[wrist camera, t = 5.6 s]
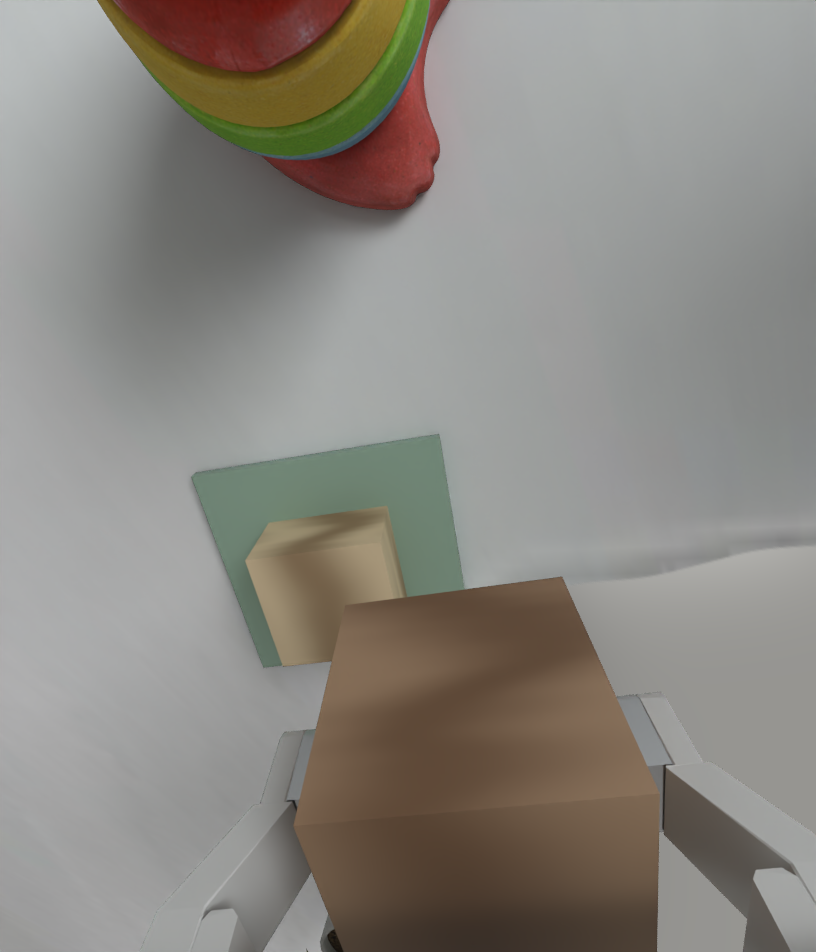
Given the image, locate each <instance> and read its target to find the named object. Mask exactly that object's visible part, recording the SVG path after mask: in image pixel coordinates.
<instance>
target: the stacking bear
mask: <svg viewBox="0 0 816 952" xmlns="http://www.w3.org/2000/svg"><path fill="white" fill-rule="evenodd" d="M97 1H98V3H99V4H100V6H101V7H102V9H103V10H104V12H105V14H106V15H107V17H108V18H109V20H110V21H111V22H112V24H113V25H114V27H115V28H116V29H117V31H118V32H119V34H120V35H121V36H122V38H123V39H124V40H125V42H126V43H127V44H128V45H129V47H130V48H131V49H132V50H133V52H134V53H135V54H136V56H137V57H138V59H139V60H140V61H141V62H142V64H143V65H144V66H145V68H146V69H147V70H148V72H149V73H150V74H151V75H152V77H153V78H154V79H155V80H156V81H157V82H158V83H159V85H160V86H161V87H162V88H163V89H164V90H165V91H166V92H167V93H168V94H169V95H170V96H171V97H172V98H173V99H174V100H175V101H176V102H177V103H178V104H179V105H180V106H181V107H182V108H183V109H184V110H185V111H186V112H187V113H188V114H190V115H191V116H192V117H193V118H194V119H196V120H197V121H198V122H199V123H201V124H202V125H203V126H205V127H206V128H207V129H209V130H210V131H212V132H213V133H215V134H217V135H218V136H220V137H222V138H223V139H225V140H227V141H229V142H231V143H233V144H234V145H236V146H238V147H240V148H243V149H245V150H247V151H250V152H253V153H256V154H259V155H261V156H262V157H264V158H265V159H266V160H267V161H268V162H269V163H270V164H272V165H273V166H274V167H276V168H277V169H278V170H280V171H281V172H282V173H284V174H285V175H286V176H288V177H289V178H291V179H292V180H294V181H296V182H297V183H299V184H300V185H302V186H304V187H306V188H308V189H310V190H312V191H314V192H316V193H318V194H320V195H323V196H325V197H327V198H330V199H333V200H336V201H339V202H342V203H346V204H349V205H353V206H358V207H364V208H372V209H382V210H396V209H403V208H406V207H409V206H411V205H412V204H413V203H414V202H415V199H416V196H417V195H418V194H419V193H422V192H425V191H427V190H428V189H429V188H430V187H431V185H432V183H433V181H434V171H433V166H434V165H435V163H436V162H437V160H438V158H439V154H440V145H439V140H438V137H437V134H436V131H435V129H434V126H433V124H432V122H431V118H430V115H429V112H428V109H427V104H426V98H425V91H424V65H425V57H426V52H427V47H428V43H429V39H430V36H431V34H432V31H433V28H434V26H435V24H436V22H437V20H438V19H439V17H440V15H441V13H442V11H443V10H444V8H445V7H446V5H447V4H448V2H449V1H450V0H97Z"/></svg>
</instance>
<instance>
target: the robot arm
mask: <svg viewBox="0 0 816 952" xmlns="http://www.w3.org/2000/svg"><path fill="white" fill-rule="evenodd" d="M616 698H617V700H618V702H619V704H620V707H621V709H622V711H623V713H624V715H625V718H626V720H627V722H628V724H629V727H630V729H631V731H632V733H633V735H634V738H635V740H636V742H637V744H638V746H639V749H640V751H641V753H642V755H643V758H644V760H645V762H646V764H647V766H648V769H649V771H650V773H651V775H652V777H653V780H654V782H655V784H656V786H657V789H658V791H659V793H660V806H659V832H664V835H665V836H666V837H667V838H668V839H669V840H670V841H671V842H672V843H673V844H674V845H675V846H676V847H677V848H678V849H679V850H680V851H681V852H682V853H683V854H684V855H685V856H686V857H687V858H688V859H689V860H690V861H691V862H692V863H693V864H694V865H695V866H696V867H697V868H698V869H699V870H700V871H701V873H703V875H705V876H706V878H707V879H709V880H710V881H711V883H712V884H713V885H714V886H715V887H716V888H717V889H718V890H719V891H720V892H721V893H722V894H723V895H724V896H725V897H726V898H727V899H728V900H729V901H730V902H731V903H732V904H733V905H734V906H735V907H736V908H737V909H738V910H739V911H740V912H741V913H742V914H743V915H744V916H745V917H746V918H747V926H746V934H745V940H744V947H743V952H816V834H814V833H813V832H811V831H810V830H808V829H807V828H806V827H804V826H803V825H801V824H800V823H799V822H797V821H796V820H794V819H793V818H791V817H790V816H789V815H787V814H786V813H784V812H783V811H781V810H780V809H779V808H777V807H776V806H774V805H773V804H771V803H770V802H769V801H767V800H766V799H764V798H763V797H761V796H759V795H758V794H757V793H755V792H754V791H753V790H751V789H750V788H748V787H747V786H746V785H744V784H743V783H741V782H740V781H738V780H737V779H735V778H734V777H733V776H731V775H730V774H728V773H727V772H726V771H724V770H723V769H721V768H720V767H718V766H717V765H715V764H714V763H713V762H703V760H702V759H701V757H700V755H699V753H698V752H697V750H696V748H695V747H694V745H693V743H692V741H691V740H690V738H689V736H688V735H687V733H686V731H685V729H684V727H683V726H682V724H681V722H680V721H679V719H678V717H677V715H676V714H675V712H674V710H673V708H672V707H671V705H670V703H669V701H668V700H667V698H666V697H665V695H664V694H663V693H661V692H654V693H645V694H636V695H625V696H617V697H616ZM315 731H316V729H312V730H303V731H292V732H285V733H284V734H283V736H282V737H281V739H280V741H279V744H278V747H277V751H276V754H275V757H274V760H273V764H272V767H271V770H270V773H269V777H268V780H267V783H266V786H265V789H264V793H263V796H262V799H261V802H260V804H257V805H253V806H252V807H251V808H250V809H249V810H248V811H247V813H246V814H245V815H244V816H243V817H242V818H241V819H240V820H239V821H238V822H237V824H236V825H235V826H234V827H233V828H232V829H231V830H230V831H229V832H228V834H227V835H226V836H225V837H224V838H223V839H222V840H221V841H220V842H219V843H218V845H217V846H216V847H215V848H214V849H213V850H212V851H211V852H210V853H209V854H208V856H207V857H206V858H205V859H204V860H203V861H202V862H201V863H200V864H199V866H198V867H197V868H196V869H195V870H194V871H193V872H192V873H191V874H190V875H189V877H188V878H187V879H186V880H185V881H184V882H183V883H182V884H181V885H180V886H179V888H178V889H177V890H176V891H175V892H174V893H173V894H172V895H171V896H170V898H169V899H168V900H167V901H166V902H165V903H164V904H163V905H162V906H161V907H160V909H159V910H158V911H157V912H156V914H155V917H154V919H153V922H152V924H151V926H150V929H149V931H148V934H147V936H146V938H145V941H144V943H143V945H142V948H141V950H140V952H262V951H263V950H264V948H265V947H266V945H267V943H268V942H269V940H270V938H271V937H272V935H273V934H274V932H275V930H276V929H277V927H278V925H279V924H280V922H281V921H282V919H283V917H284V916H285V914H286V912H287V911H288V909H289V908H290V906H291V904H292V903H293V901H294V899H295V898H296V896H297V895H298V893H299V891H300V890H301V888H302V886H303V885H304V883H305V882H306V880H307V878H308V877H309V875H310V873H311V869H310V867H309V864H308V862H307V859H306V857H305V854H304V852H303V849H302V847H301V844H300V842H299V839H298V837H297V834H296V832H295V829H294V827H293V825H294V821H295V816H296V812H297V808H298V804H299V799H300V795H301V791H302V786H303V782H304V778H305V774H306V769H307V765H308V761H309V757H310V752H311V748H312V744H313V740H314V735H315Z"/></svg>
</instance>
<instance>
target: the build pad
mask: <svg viewBox="0 0 816 952" xmlns="http://www.w3.org/2000/svg"><path fill="white" fill-rule="evenodd" d="M192 480H193V482H194V485H195V488H196V490H197V493H198V496H199V498H200V501H201V504H202V506H203V509H204V512H205V514H206V517H207V520H208V522H209V525H210V527H211V530H212V533H213V535H214V538H215V541H216V543H217V546H218V549H219V551H220V554H221V557H222V559H223V562H224V564H225V567H226V570H227V572H228V575H229V578H230V580H231V583H232V586H233V588H234V591H235V594H236V596H237V599H238V601H239V604H240V607H241V609H242V612H243V615H244V617H245V620H246V623H247V625H248V628H249V631H250V633H251V636H252V639H253V641H254V644H255V646H256V649H257V652H258V654H259V657H260V660H261V662H262V665H263V668H264V667H273V666H282V662H281V660H280V657H279V654H278V651H277V648H276V646H275V643H274V640H273V637H272V635H271V632H270V629H269V626H268V623H267V621H266V618H265V615H264V612H263V609H262V607H261V604H260V601H259V598H258V595H257V593H256V590H255V587H254V584H253V581H252V579H251V576H250V573H249V570H248V568H247V565H246V562H245V560H246V558H247V557H248V555H249V554H250V552H251V550H252V549H253V547H254V546H255V544H256V542H257V541H258V539H259V538H260V536H261V534H262V533H263V531H264V530H265V528H266V526H267V525H268V523H270V522H277V521H284V520H291V519H298V518H305V517H312V516H319V515H326V514H333V513H340V512H347V511H354V510H361V509H367V508H374V507H381V506H387V507H388V511H389V516H390V520H391V525H392V530H393V534H394V539H395V543H396V548H397V552H398V557H399V562H400V566H401V571H402V575H403V580H404V584H405V589H406V594H407V597H411V596H419V595H427V594H434V593H442V592H450V591H457V590H465V589H464V583H463V577H462V571H461V565H460V559H459V553H458V547H457V541H456V534H455V528H454V522H453V516H452V510H451V504H450V498H449V492H448V486H447V480H446V474H445V467H444V461H443V455H442V449H441V443H440V437H439V434H437V435H430V436H424V437H418V438H411V439H405V440H399V441H392V442H386V443H380V444H373V445H367V446H361V447H354V448H348V449H342V450H336V451H329V452H323V453H317V454H310V455H304V456H298V457H291V458H285V459H279V460H272V461H266V462H260V463H253V464H247V465H241V466H235V467H228V468H222V469H216V470H209V471H203V472H197V473H195V474H194V475H193V476H192Z"/></svg>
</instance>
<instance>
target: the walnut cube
mask: <svg viewBox="0 0 816 952" xmlns="http://www.w3.org/2000/svg"><path fill="white" fill-rule="evenodd" d="M659 806H660V793H659V791H658V789H657V786H656V784H655V782H654V780H653V777H652V775H651V773H650V771H649V769H648V766H647V764H646V762H645V760H644V758H643V755H642V753H641V751H640V749H639V746H638V744H637V742H636V740H635V738H634V735H633V733H632V731H631V729H630V727H629V724H628V722H627V720H626V718H625V715H624V713H623V711H622V709H621V707H620V704H619V702H618V700H617V698H616V696H615V693H614V691H613V689H612V687H611V684H610V682H609V680H608V678H607V676H606V673H605V671H604V669H603V667H602V664H601V662H600V660H599V658H598V656H597V653H596V651H595V649H594V647H593V645H592V642H591V640H590V638H589V636H588V633H587V631H586V629H585V627H584V625H583V622H582V620H581V618H580V616H579V613H578V611H577V609H576V607H575V605H574V602H573V600H572V598H571V596H570V594H569V591H568V589H567V587H566V585H565V582H564V580H563V578H562V577H557V578H549V579H541V580H534V581H526V582H518V583H511V584H503V585H496V586H488V587H480V588H473V589H465V590H457V591H450V592H442V593H434V594H427V595H419V596H411V597H404V598H396V599H389V600H381V601H373V602H366V603H358V604H350V605H345V608H344V612H343V616H342V620H341V625H340V629H339V633H338V637H337V642H336V646H335V650H334V654H333V659H332V663H331V667H330V671H329V676H328V680H327V684H326V689H325V693H324V697H323V701H322V706H321V710H320V714H319V718H318V723H317V727H316V731H315V735H314V740H313V744H312V748H311V752H310V757H309V761H308V765H307V769H306V774H305V778H304V782H303V786H302V791H301V795H300V799H299V804H298V808H297V812H296V816H295V821H294V825H293V827H294V829H295V832H296V834H297V837H298V839H299V842H300V844H301V847H302V849H303V852H304V854H305V857H306V859H307V862H308V864H309V867H310V869H311V872H312V874H313V877H314V879H315V882H316V884H317V887H318V889H319V892H320V894H321V897H322V899H323V902H324V904H325V907H326V909H327V911H328V914H329V916H330V919H331V921H332V924H333V926H334V929H335V931H336V934H337V936H338V939H339V941H340V944H341V946H342V949H343V951H344V952H657V917H658V862H659V859H658V858H659Z"/></svg>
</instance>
